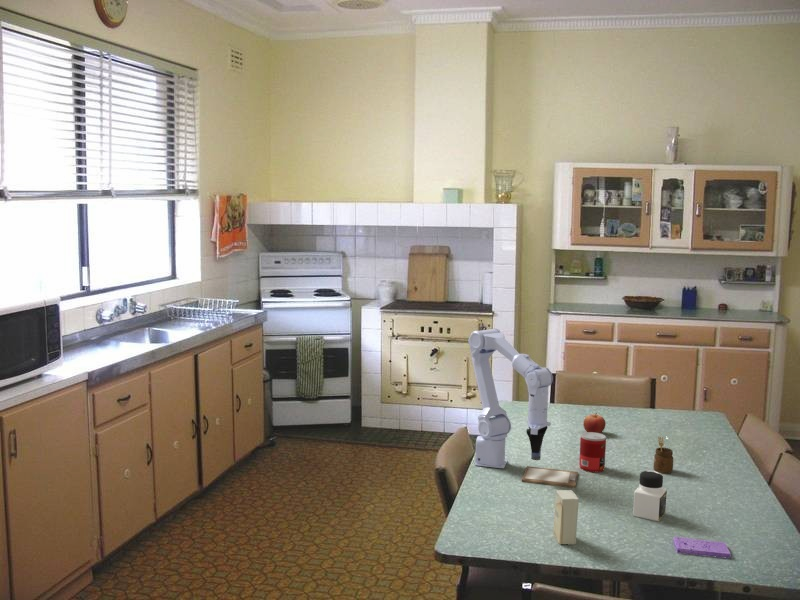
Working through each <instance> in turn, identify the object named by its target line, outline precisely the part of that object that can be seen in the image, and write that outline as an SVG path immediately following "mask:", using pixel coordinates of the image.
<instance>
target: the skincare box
mask: <svg viewBox="0 0 800 600" xmlns="http://www.w3.org/2000/svg"><path fill="white" fill-rule="evenodd" d="M579 500H580V499H579V497H578V496H577V495H576V494H575V492H574V491H573V490H572V489H556V490H555V502H554V503H555V504H554V515H553V516H554V517H553V519H554V520H553V531H552V535H553V536H554V539H555V540H556V541H557V543H558V545H561V544H568V545H576V544H577V543H576V541H577V529H578V528H577V527H578V518H579V517H578V516H579V515H578V514H579V502H580V501H579ZM561 546H562V545H561Z"/></svg>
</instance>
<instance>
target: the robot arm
mask: <svg viewBox="0 0 800 600" xmlns="http://www.w3.org/2000/svg"><path fill="white" fill-rule="evenodd" d="M467 341H468V346H469V350H470V356H471V357H470V358H471V361H472V362H471V363H472V366H473V370H474V376H475V380H476V384H477V385H476V386H477V388H478V393H479V398H480V403H481V407H482V410H481V412H480V413H479V414H478V415H477V420H478V427H477V431H478V433H479V435H477V437H476V440H475V441H476V442H475V457H474V458H475V460H474V466H477V467H486V468H487V467H488V468H496V469H505V467H506V465H507V463H508V459H506V438H507V437H508V434H510V432H511V429H512V423H511V420H510V418H509V417H508V414H507V410H506V409H504V408H502V407H501V406H500V405H499V399H498V395H497V389H496V386H495V382H494V377H493V373H492V368H491V364H490V358H491V356H492V355H493V354H494V353H495V352H496V351H497V352H498V353H500V354H501V355H502V356H504V357H505V358H507V360H509V361H510V362H511V363H512V364H511V365H512V368H513V370H515V371H516V372H517V373H518V374H520V376H522V378H524V380H525V383H526V386H527V392H528V407H527V408H528V409H527V410H528V413H527V421H526V424H527V425H528V428H527V429H526V432H525V433H526V434H527V436H528V437H527V438H528V440H529V443H530V444H529V445H530V450H531V451H532V453H539V451H540V447H541V448H542V446H543V439H544V436H545V434H546V432H547V430H548V427H551V424H552V422H551V421H548V404H549V403H548V401H549V387H550V386H551V385H552V383H553V382H554V381H553V380H554V377H553V373H552V372H551V370H550V368H549V367H543V366H540V365H539V363H537V362H535V361H534V360H533V359H532V358H531V356H530V355H529V354H528V353H527V354H526V353H519V352H518V350H517V349H516V348H515V347H514V346H513V345H512V344H511V343H510V342H509V341H508V340H507V339H506V338H505V334H504V333H503V332H501V330H500V329H499V328H490V329H482V330H474V331H472V332H471V333H470V336H469V337H468V340H467ZM531 451H530V452H531Z"/></svg>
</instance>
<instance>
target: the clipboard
mask: <svg viewBox="0 0 800 600" xmlns="http://www.w3.org/2000/svg"><path fill="white" fill-rule="evenodd" d="M578 475H579V472H578V471H575V470H564V469H555V468H547V467H546V468H545V467H536V466H528V465H527V466H526V468H525V471H524V473H523V476H522V478H521V482H523V483H529V482H530V483H529V484H531V483H532V484H540V485H546V486H547V485H549V486H556V485H558V486H557V487H564V486H567V487H566V488H573V487H574V488H576V485H577V478H578Z"/></svg>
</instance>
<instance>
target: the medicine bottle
mask: <svg viewBox="0 0 800 600" xmlns="http://www.w3.org/2000/svg"><path fill="white" fill-rule="evenodd" d="M663 481H664V475H663V473H659V472H656V471H655V470H643V471H641V472H640V473H639V484H638V485H639V486H638V487H637V488H636V489H635V490H634V492H633V509H632V515H633V517H637V518H641V519H645V520H650V521H654V522H659V521H661V520H662V518H663V516H665V514H666V510H667V509H666V505H667V489H666V488H663V484H664V483H663Z"/></svg>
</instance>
